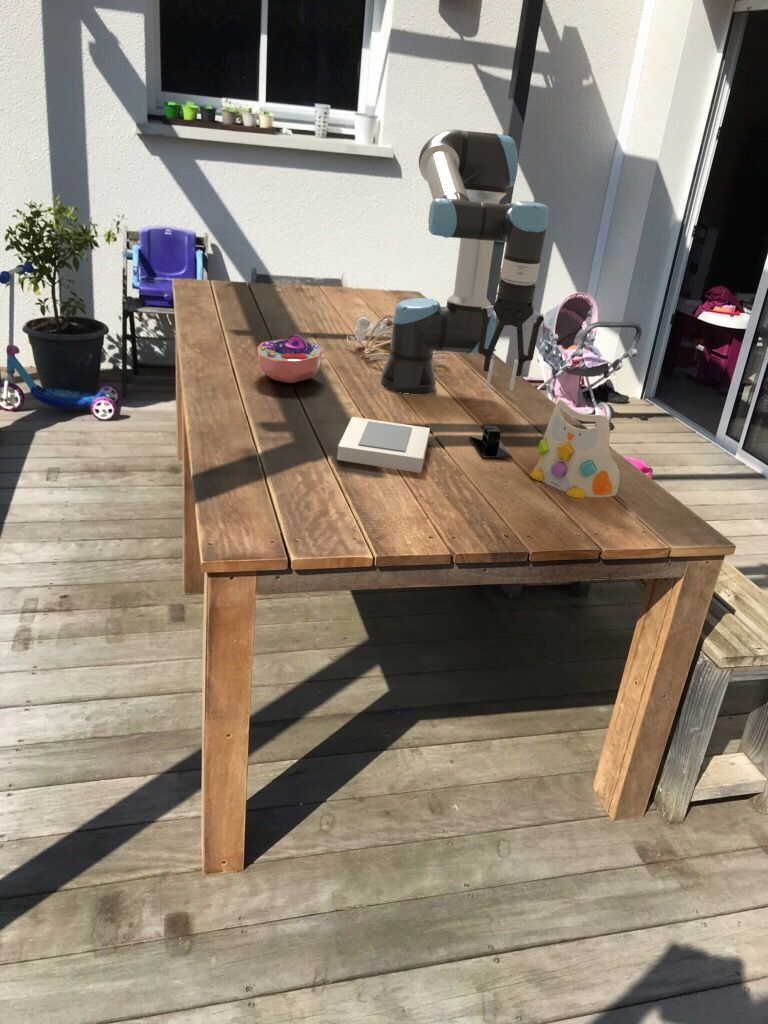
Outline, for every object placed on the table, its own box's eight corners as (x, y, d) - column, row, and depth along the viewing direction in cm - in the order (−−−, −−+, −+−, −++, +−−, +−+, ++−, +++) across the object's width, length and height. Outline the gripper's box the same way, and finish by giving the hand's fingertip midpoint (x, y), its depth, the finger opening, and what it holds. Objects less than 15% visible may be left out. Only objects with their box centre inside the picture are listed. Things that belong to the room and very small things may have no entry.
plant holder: (371, 387, 236) (379, 334, 227) (334, 334, 262) (339, 285, 253) (459, 382, 246) (470, 332, 237) (415, 332, 272) (423, 285, 262)
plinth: (350, 433, 192) (352, 415, 190) (427, 444, 191) (430, 426, 189) (336, 463, 176) (338, 444, 174) (420, 476, 175) (423, 457, 173)
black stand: (468, 437, 197) (470, 419, 195) (497, 438, 198) (500, 420, 196) (482, 457, 186) (485, 437, 184) (513, 457, 187) (516, 438, 185)
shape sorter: (513, 473, 182) (528, 396, 174) (541, 462, 189) (557, 388, 181) (590, 508, 170) (610, 427, 162) (617, 495, 177) (637, 417, 169)
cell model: (239, 380, 216) (241, 338, 211) (283, 363, 233) (285, 324, 227) (294, 396, 210) (297, 353, 205) (335, 378, 226) (338, 337, 221)
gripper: (475, 279, 171) (459, 387, 181) (561, 290, 169) (539, 398, 180) (476, 272, 177) (460, 376, 188) (559, 282, 176) (538, 387, 187)
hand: (499, 387), depth 184 cm, fingers open, 4 cm apart
